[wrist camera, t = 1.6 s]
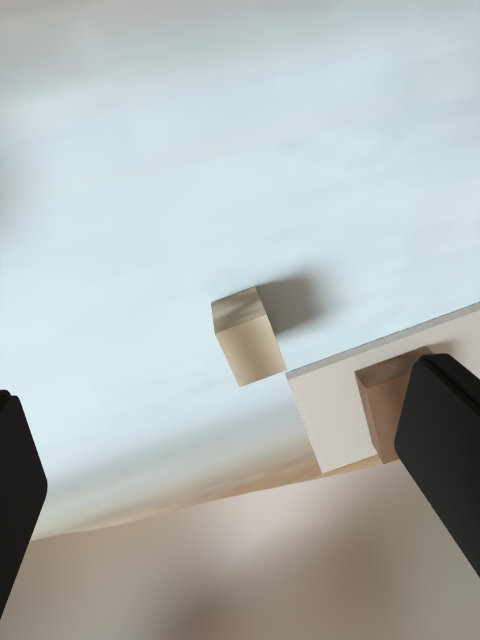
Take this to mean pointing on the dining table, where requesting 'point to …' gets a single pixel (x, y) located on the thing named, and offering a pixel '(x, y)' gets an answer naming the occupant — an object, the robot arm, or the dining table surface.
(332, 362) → the plate
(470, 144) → the dining table surface
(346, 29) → the dining table surface
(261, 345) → the birch block
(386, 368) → the plinth
